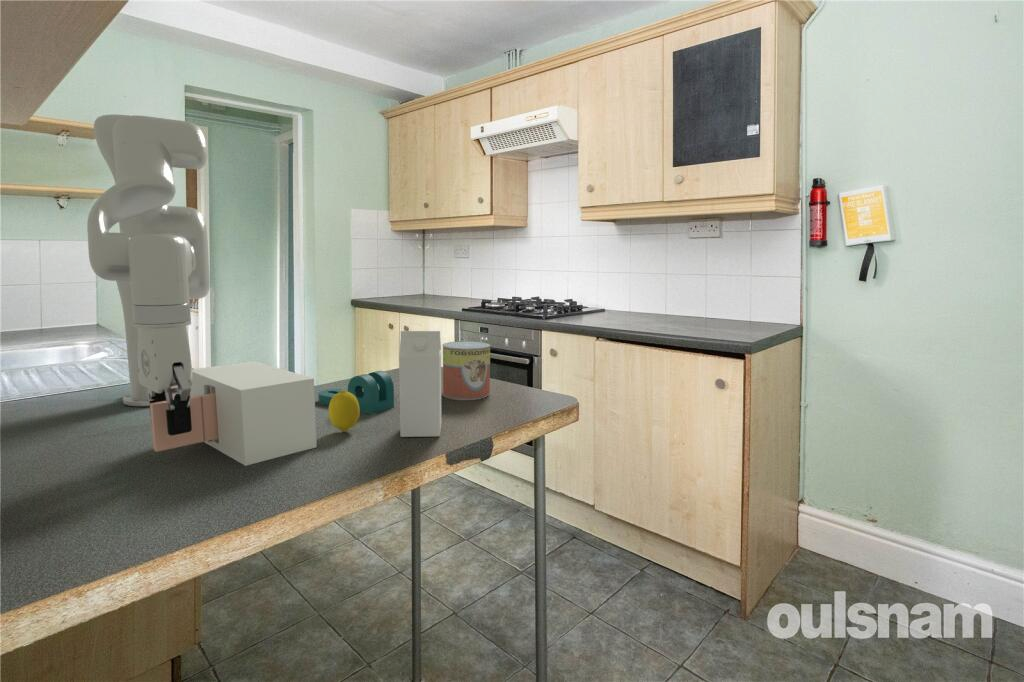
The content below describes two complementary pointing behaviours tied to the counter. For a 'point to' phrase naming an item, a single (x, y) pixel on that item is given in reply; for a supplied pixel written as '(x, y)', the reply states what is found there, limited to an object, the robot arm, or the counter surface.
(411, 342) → the milk carton
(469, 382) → the canned food
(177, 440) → the strip
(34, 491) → the counter surface
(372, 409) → the bracket
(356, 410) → the lemon
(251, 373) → the ticket dispenser
